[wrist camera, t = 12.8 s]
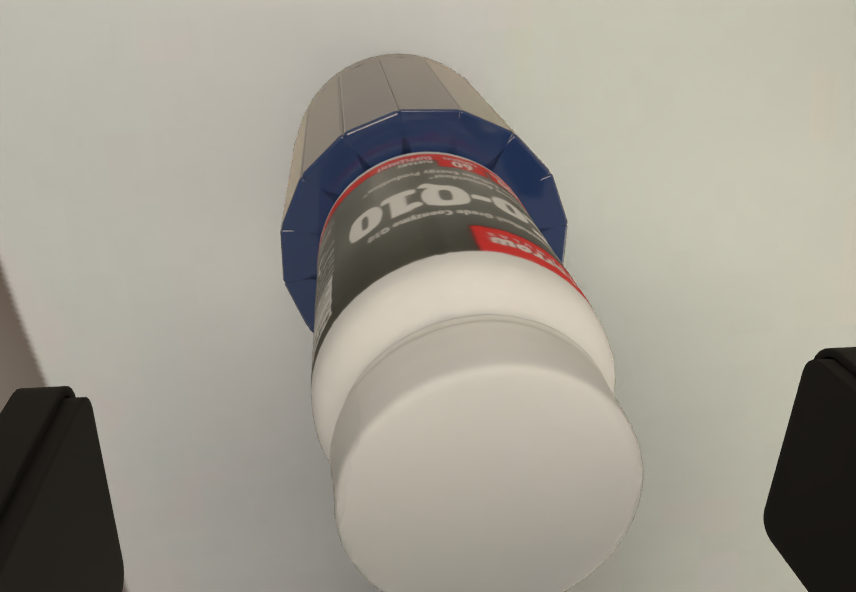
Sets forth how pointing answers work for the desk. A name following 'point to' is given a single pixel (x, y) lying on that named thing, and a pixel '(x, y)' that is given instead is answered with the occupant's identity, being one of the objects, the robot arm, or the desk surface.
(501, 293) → the pill bottle
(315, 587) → the desk surface
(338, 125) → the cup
